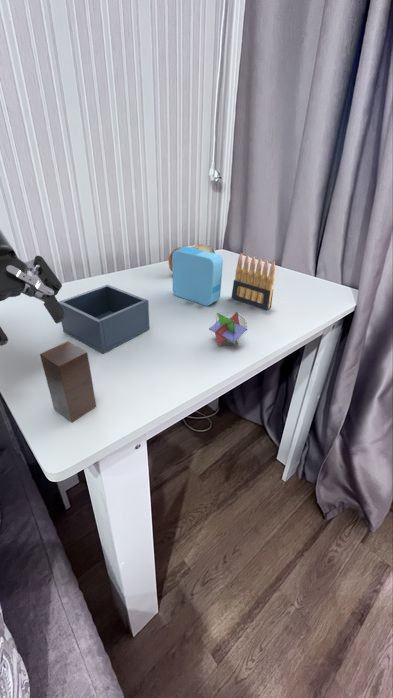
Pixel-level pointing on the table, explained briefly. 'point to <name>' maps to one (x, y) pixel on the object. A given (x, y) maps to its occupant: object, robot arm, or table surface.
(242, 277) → the ammunition clip
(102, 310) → the bin
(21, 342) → the table surface
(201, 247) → the tin
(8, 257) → the robot arm
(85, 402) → the block
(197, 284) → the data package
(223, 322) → the geometric puzzle
